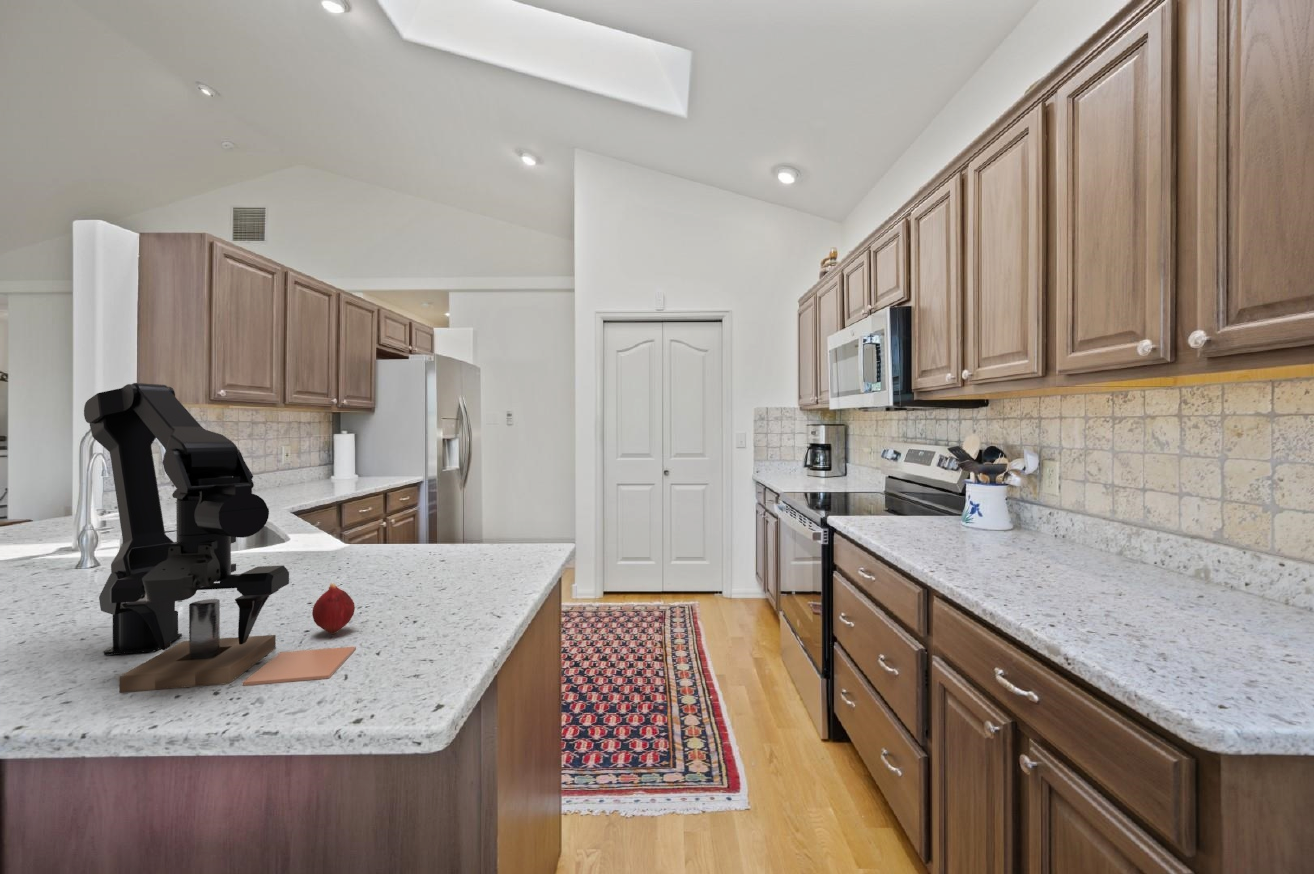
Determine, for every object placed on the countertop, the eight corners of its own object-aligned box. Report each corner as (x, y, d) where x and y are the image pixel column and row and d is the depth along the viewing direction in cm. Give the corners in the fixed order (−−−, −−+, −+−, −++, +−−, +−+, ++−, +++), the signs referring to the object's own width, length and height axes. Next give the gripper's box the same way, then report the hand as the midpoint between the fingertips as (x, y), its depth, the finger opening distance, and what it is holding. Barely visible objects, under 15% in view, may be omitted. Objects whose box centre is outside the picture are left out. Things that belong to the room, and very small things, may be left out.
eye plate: (119, 692, 67) (119, 676, 67) (183, 654, 79) (183, 640, 79) (229, 683, 70) (229, 667, 70) (275, 648, 81) (275, 634, 81)
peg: (183, 674, 72) (183, 606, 72) (198, 664, 76) (198, 599, 76) (211, 672, 73) (210, 605, 73) (225, 662, 76) (224, 598, 76)
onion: (362, 627, 90) (362, 579, 90) (338, 640, 84) (338, 588, 84) (329, 626, 91) (329, 578, 91) (303, 639, 85) (303, 588, 85)
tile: (242, 685, 69) (242, 682, 69) (280, 654, 79) (280, 651, 79) (328, 678, 71) (328, 675, 71) (355, 649, 81) (355, 646, 81)
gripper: (72, 546, 65) (72, 677, 65) (249, 539, 68) (249, 664, 68) (141, 530, 76) (141, 643, 76) (290, 525, 79) (291, 633, 79)
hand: (204, 645), depth 74 cm, fingers open, 9 cm apart
